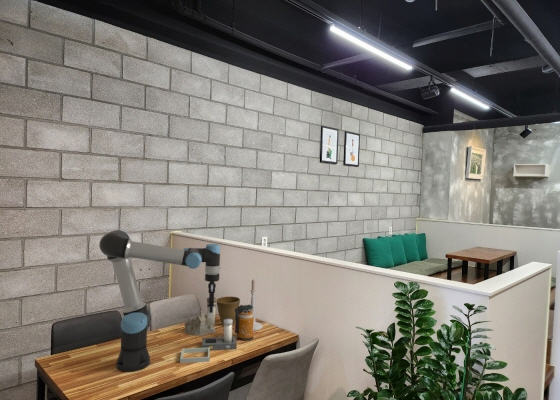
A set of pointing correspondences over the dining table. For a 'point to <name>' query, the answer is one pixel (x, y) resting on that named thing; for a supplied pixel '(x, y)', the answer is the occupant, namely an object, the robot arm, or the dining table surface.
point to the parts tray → (195, 359)
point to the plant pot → (227, 308)
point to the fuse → (228, 330)
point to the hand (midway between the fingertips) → (210, 316)
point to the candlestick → (256, 325)
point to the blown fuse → (212, 320)
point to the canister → (244, 322)
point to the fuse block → (219, 343)
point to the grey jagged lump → (198, 326)
